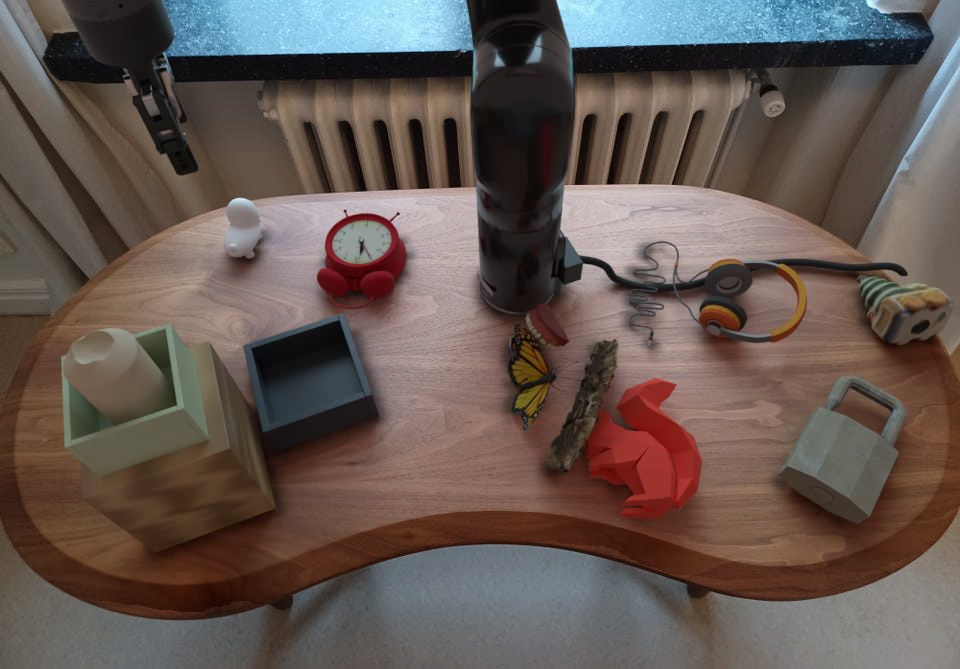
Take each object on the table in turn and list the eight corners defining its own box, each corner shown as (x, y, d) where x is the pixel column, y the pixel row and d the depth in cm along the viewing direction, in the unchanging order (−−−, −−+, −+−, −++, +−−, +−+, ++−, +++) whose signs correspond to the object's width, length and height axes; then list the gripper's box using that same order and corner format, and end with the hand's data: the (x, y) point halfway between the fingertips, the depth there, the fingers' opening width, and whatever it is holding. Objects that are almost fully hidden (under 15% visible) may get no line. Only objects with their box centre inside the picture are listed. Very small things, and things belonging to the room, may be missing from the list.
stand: (254, 411, 75) (209, 340, 63) (276, 508, 68) (230, 448, 57) (143, 449, 73) (76, 382, 61) (155, 552, 66) (82, 500, 55)
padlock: (774, 478, 68) (831, 377, 75) (853, 527, 66) (904, 417, 72) (790, 463, 65) (848, 358, 72) (873, 514, 62) (925, 400, 69)
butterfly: (591, 427, 68) (559, 421, 65) (528, 445, 74) (496, 440, 71) (578, 320, 73) (548, 309, 70) (519, 345, 79) (489, 335, 75)
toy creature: (274, 223, 92) (260, 189, 86) (255, 268, 87) (240, 234, 82) (241, 221, 92) (226, 186, 87) (221, 265, 87) (204, 232, 82)
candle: (162, 444, 57) (105, 383, 48) (103, 433, 57) (37, 371, 49) (191, 388, 60) (141, 322, 52) (135, 378, 61) (77, 312, 52)
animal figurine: (686, 389, 74) (689, 362, 71) (707, 518, 65) (713, 496, 61) (580, 394, 76) (578, 368, 72) (586, 520, 67) (584, 499, 63)
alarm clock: (410, 206, 87) (388, 276, 76) (414, 246, 92) (393, 318, 81) (332, 203, 88) (298, 272, 77) (339, 243, 92) (308, 314, 81)
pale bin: (195, 358, 62) (170, 322, 58) (209, 439, 57) (184, 408, 53) (94, 390, 61) (60, 356, 56) (100, 477, 56) (64, 448, 51)
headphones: (640, 225, 86) (814, 233, 78) (642, 254, 90) (808, 264, 82) (611, 328, 77) (804, 349, 69) (615, 355, 81) (798, 378, 73)
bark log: (592, 349, 79) (590, 310, 74) (633, 359, 77) (634, 319, 72) (539, 481, 69) (531, 446, 64) (584, 495, 67) (580, 460, 62)
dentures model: (543, 335, 70) (513, 381, 75) (575, 334, 72) (544, 379, 78) (523, 296, 73) (496, 343, 79) (555, 296, 75) (526, 342, 81)
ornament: (941, 341, 78) (883, 288, 85) (969, 301, 74) (906, 248, 81) (882, 351, 76) (828, 296, 83) (908, 310, 72) (849, 256, 79)
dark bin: (351, 335, 80) (344, 312, 77) (379, 415, 74) (372, 394, 70) (255, 367, 78) (242, 345, 75) (275, 452, 72) (262, 432, 68)
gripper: (164, 26, 54) (230, 179, 67) (146, -53, 62) (208, 98, 75) (66, 48, 53) (153, 200, 66) (60, -36, 60) (139, 115, 74)
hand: (183, 146), depth 71 cm, fingers open, 8 cm apart
